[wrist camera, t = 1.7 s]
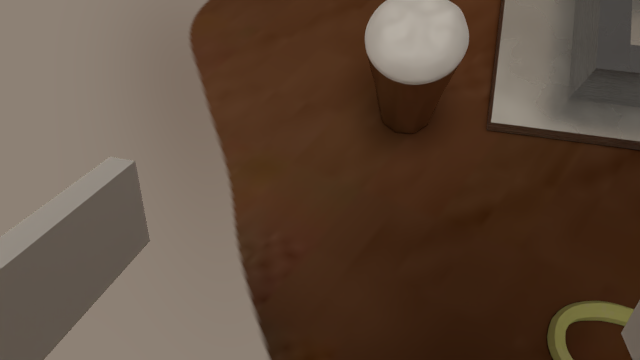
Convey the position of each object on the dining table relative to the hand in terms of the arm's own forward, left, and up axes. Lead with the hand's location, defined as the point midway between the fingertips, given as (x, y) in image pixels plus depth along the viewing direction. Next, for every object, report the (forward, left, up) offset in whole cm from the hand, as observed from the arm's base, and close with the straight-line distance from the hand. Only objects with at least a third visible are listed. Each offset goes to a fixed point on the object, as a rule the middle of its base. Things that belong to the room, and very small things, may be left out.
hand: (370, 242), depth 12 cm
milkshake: (0, -11, -15) cm, 18 cm away
